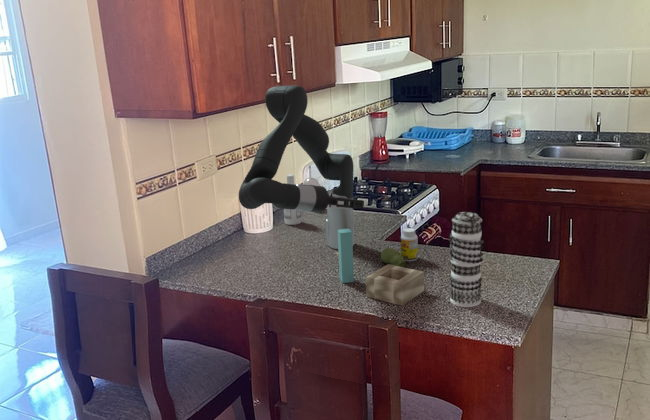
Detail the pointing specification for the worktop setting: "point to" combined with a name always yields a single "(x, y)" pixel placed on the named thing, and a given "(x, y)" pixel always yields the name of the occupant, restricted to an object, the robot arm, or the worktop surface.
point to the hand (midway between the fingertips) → (354, 202)
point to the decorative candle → (466, 259)
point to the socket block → (395, 284)
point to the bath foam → (291, 215)
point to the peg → (345, 255)
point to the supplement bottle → (409, 245)
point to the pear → (392, 257)
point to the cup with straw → (311, 180)
